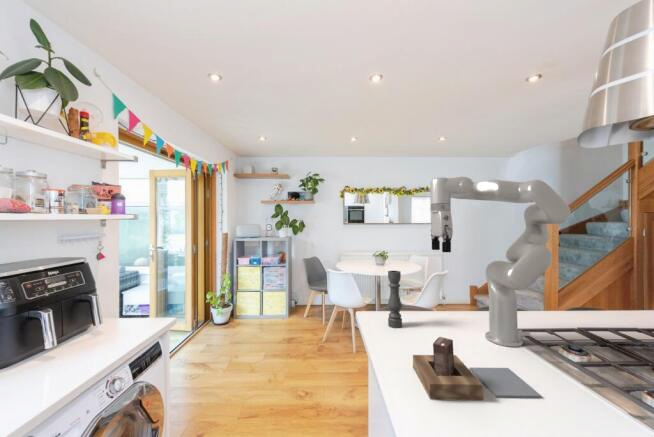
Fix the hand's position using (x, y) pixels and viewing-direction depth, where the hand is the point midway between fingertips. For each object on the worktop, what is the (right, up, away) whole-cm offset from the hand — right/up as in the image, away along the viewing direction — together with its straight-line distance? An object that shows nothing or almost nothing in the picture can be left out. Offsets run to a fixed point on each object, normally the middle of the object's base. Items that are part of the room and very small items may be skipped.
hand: (440, 250), depth 107 cm
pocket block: (-11, -36, -28) cm, 47 cm away
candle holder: (-14, -37, +16) cm, 43 cm away
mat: (+6, -35, -29) cm, 46 cm away
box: (-11, -36, -28) cm, 47 cm away
